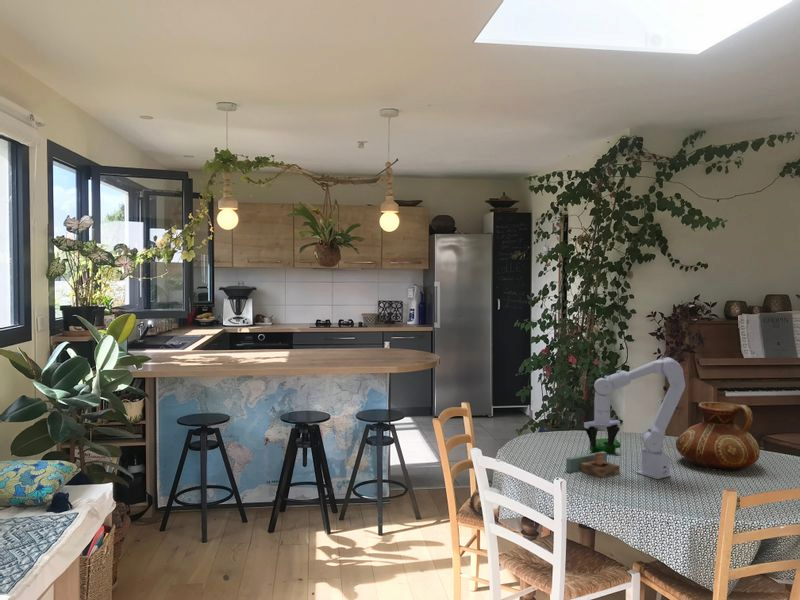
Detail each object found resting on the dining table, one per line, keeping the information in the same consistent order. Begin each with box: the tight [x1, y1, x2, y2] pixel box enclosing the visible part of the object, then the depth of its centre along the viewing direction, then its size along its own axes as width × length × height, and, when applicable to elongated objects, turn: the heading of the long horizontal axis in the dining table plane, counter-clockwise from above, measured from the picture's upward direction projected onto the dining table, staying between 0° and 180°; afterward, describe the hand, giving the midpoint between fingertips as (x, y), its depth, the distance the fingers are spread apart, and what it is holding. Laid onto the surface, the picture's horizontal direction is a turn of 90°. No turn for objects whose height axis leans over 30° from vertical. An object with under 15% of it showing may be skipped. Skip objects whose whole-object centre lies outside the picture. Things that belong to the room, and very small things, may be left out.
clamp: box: [589, 437, 622, 455], centre depth 274 cm, size 12×6×9 cm, turn 99°
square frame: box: [579, 460, 620, 479], centre depth 247 cm, size 10×10×3 cm
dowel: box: [595, 453, 603, 467], centre depth 248 cm, size 3×3×7 cm
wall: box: [565, 451, 608, 474], centre depth 253 cm, size 2×20×5 cm, turn 122°
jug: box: [675, 401, 761, 472], centre depth 259 cm, size 30×30×25 cm
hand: (601, 445), depth 249 cm, fingers open, 7 cm apart
